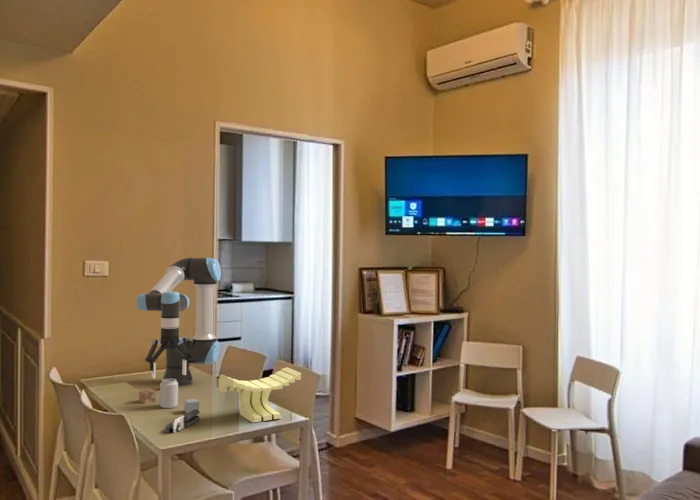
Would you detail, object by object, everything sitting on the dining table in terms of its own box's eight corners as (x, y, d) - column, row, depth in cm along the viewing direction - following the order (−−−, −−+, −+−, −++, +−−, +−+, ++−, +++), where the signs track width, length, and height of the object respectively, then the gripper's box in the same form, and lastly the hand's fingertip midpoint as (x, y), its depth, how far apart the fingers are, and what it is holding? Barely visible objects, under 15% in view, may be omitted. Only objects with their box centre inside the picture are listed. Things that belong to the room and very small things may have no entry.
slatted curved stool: (283, 406, 266) (284, 366, 266) (300, 415, 252) (301, 372, 252) (218, 415, 250) (219, 372, 249) (232, 425, 236) (233, 380, 236)
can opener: (176, 434, 225) (177, 421, 224) (161, 433, 226) (162, 419, 226) (203, 420, 243) (203, 408, 243) (189, 419, 245) (189, 406, 245)
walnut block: (148, 400, 272) (148, 389, 272) (155, 402, 269) (155, 391, 269) (139, 402, 268) (139, 391, 268) (145, 404, 265) (145, 393, 265)
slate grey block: (196, 410, 257) (196, 398, 257) (198, 413, 253) (199, 401, 253) (184, 411, 255) (184, 399, 255) (186, 414, 250) (187, 402, 250)
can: (181, 405, 263) (181, 378, 263) (170, 410, 256) (171, 382, 256) (166, 404, 266) (167, 377, 266) (156, 408, 259) (156, 380, 259)
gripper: (193, 324, 271) (193, 371, 271) (138, 328, 256) (137, 378, 256) (200, 326, 265) (199, 374, 265) (143, 330, 250) (143, 381, 250)
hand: (169, 376), depth 261 cm, fingers open, 13 cm apart
